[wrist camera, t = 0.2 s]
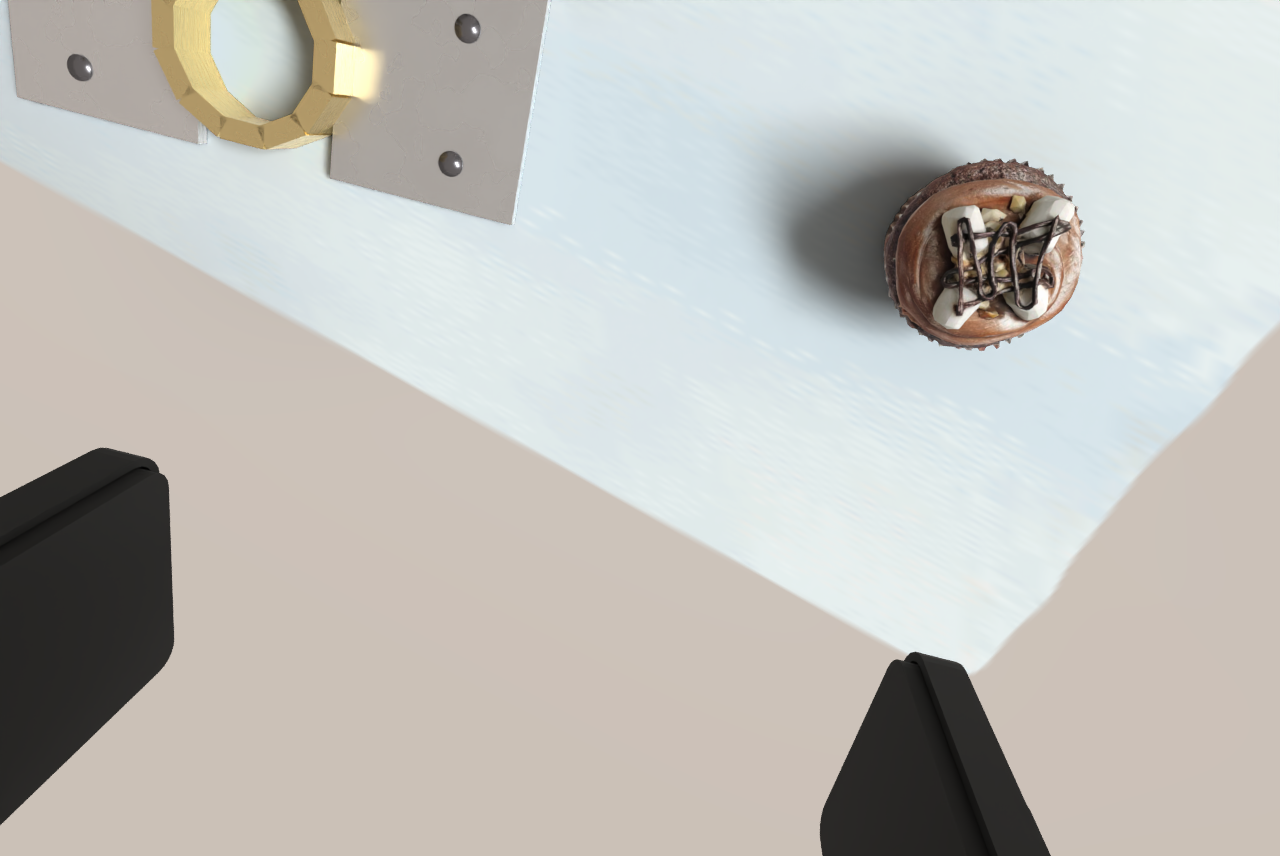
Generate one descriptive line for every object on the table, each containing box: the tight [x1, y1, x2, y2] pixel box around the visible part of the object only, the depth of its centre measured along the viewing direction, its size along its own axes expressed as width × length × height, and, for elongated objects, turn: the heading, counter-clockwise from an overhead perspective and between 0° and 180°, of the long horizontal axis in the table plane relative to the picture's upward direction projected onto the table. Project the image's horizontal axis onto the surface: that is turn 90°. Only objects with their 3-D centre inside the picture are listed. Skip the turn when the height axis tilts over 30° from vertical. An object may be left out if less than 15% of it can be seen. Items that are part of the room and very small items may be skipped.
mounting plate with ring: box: [8, 0, 551, 225], centre depth 40 cm, size 12×30×3 cm, turn 76°
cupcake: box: [884, 158, 1085, 351], centre depth 37 cm, size 10×10×10 cm
